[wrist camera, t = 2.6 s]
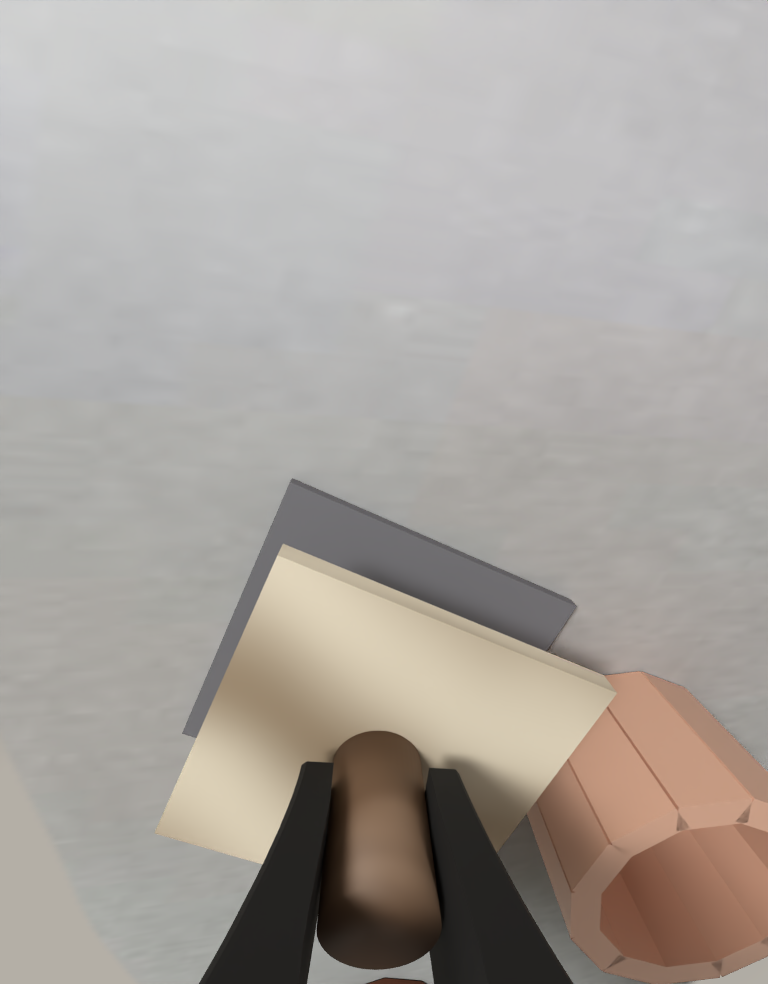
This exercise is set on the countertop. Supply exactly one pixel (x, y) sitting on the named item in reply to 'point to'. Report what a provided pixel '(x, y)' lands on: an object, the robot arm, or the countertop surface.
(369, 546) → the mat
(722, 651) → the countertop surface
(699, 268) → the countertop surface
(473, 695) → the cover
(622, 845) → the bowl
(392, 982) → the ice cream bowl
